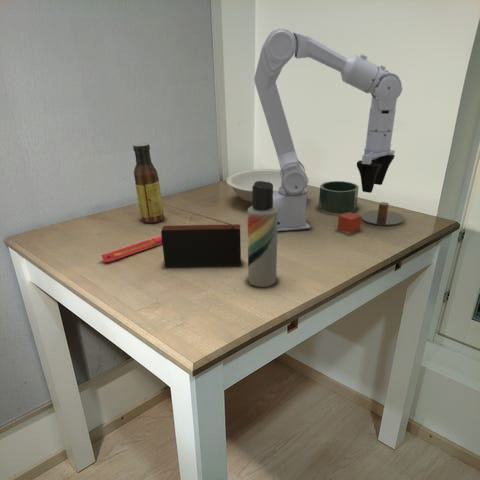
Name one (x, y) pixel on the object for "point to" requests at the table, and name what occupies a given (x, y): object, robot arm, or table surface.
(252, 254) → the lotion bottle
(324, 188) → the pot
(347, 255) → the table surface
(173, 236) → the radio
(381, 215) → the lid
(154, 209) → the sauce bottle
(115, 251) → the long red bar
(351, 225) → the block
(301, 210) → the robot arm
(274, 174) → the soup bowl
